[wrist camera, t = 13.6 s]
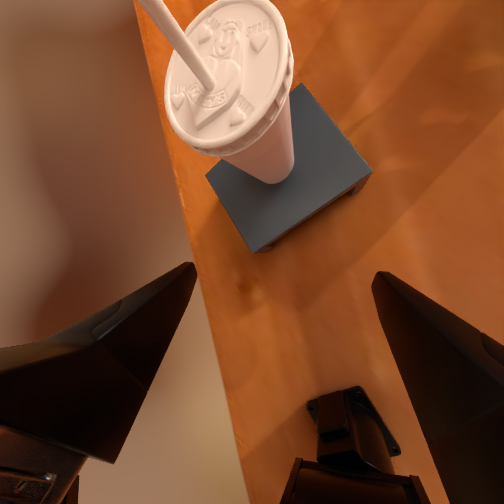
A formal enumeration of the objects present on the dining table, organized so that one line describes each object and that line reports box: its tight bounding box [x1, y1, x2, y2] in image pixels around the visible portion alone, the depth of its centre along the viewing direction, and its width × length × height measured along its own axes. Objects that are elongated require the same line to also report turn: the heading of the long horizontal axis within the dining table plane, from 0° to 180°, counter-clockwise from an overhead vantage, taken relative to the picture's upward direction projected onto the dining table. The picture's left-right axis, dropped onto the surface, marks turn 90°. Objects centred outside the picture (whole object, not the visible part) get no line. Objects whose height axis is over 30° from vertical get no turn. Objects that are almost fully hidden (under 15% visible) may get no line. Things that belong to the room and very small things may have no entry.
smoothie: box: [137, 0, 294, 184], centre depth 11 cm, size 6×6×14 cm
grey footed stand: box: [205, 82, 373, 254], centre depth 19 cm, size 10×12×4 cm
